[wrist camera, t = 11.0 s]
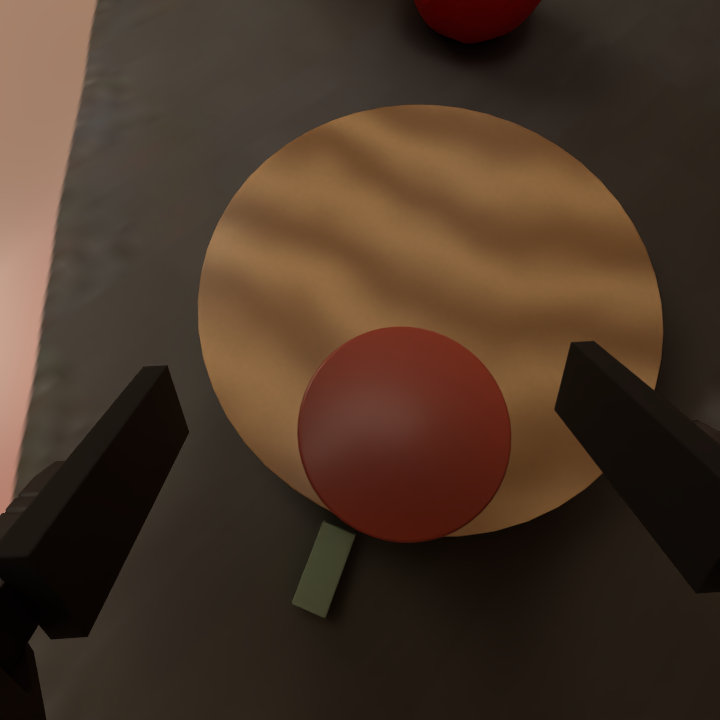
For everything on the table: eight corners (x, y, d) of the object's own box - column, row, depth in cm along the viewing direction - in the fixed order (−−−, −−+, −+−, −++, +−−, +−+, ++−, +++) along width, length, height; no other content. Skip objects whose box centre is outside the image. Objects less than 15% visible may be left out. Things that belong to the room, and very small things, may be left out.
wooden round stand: (300, 81, 24) (252, -240, 13) (672, 184, 22) (972, -89, 11) (128, 436, 18) (-202, 389, 8) (605, 609, 17) (1068, 870, 6)
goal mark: (323, 519, 19) (323, 521, 18) (355, 533, 19) (356, 534, 18) (292, 600, 18) (291, 604, 17) (325, 615, 18) (325, 619, 17)
